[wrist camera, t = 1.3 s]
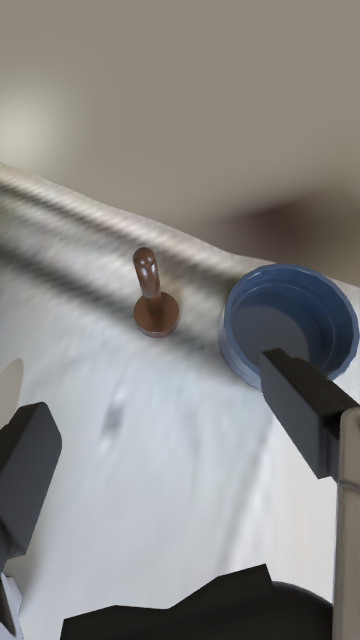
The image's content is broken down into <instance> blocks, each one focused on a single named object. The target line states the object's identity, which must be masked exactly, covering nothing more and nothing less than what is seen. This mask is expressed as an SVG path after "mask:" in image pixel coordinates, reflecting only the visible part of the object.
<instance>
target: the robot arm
mask: <svg viewBox="0 0 360 640" xmlns="http://www.w3.org/2000/svg"><path fill="white" fill-rule="evenodd" d="M259 369H260V380H261V389H262V393H263V396H264V398H265V401H266V402H267V404H268V405H269V407H270V408H271V410H272V411H273V413H274V414H275V416H276V417H277V419H278V420H279V422H280V423H281V425H282V426H283V428H284V429H285V431H286V432H287V434H288V435H289V437H290V438H291V440H292V441H293V443H294V444H295V446H296V447H297V449H298V450H299V452H300V453H301V455H302V456H303V458H304V459H305V460H306V462H307V463H308V465H309V466H310V468H311V469H312V471H313V472H314V474H315V475H316V477H317V478H318V479H321V478H325V477H329V476H332V478H333V479H334V481H335V482H336V483H337V502H336V526H335V549H334V571H333V593H332V604H331V603H330V602H328V601H327V600H325V599H324V598H322V597H320V596H318V595H317V594H315V593H313V592H311V591H309V590H307V589H304V588H301V587H299V586H296V585H293V584H289V583H284V582H278V581H272V580H271V577H270V575H269V572H268V569H267V566H266V563H265V564H262V565H258V566H255V567H251V568H247V569H244V570H240V571H237V572H233V573H229V574H226V575H222V576H218V577H216V578H215V579H213V580H212V581H210V582H209V583H207V584H206V585H204V586H203V587H201V588H200V589H198V590H197V591H195V592H194V593H192V594H191V595H189V596H188V597H186V598H185V599H183V600H182V601H180V602H179V603H177V604H176V605H174V606H173V607H171V608H168V609H154V608H143V607H131V606H119V605H114V606H110V607H106V608H103V609H99V610H96V611H92V612H88V613H85V614H81V615H78V616H74V617H70V618H67V619H64V621H63V626H62V632H61V637H60V640H360V405H359V404H358V403H357V402H356V401H355V400H353V399H352V398H351V397H350V396H349V395H348V394H347V393H345V392H344V391H343V390H342V389H341V388H340V387H338V386H337V385H336V384H335V383H334V382H333V381H331V380H329V378H328V377H327V376H326V375H324V374H323V373H321V371H320V370H319V369H317V368H316V367H315V366H314V365H313V364H312V363H310V362H308V361H306V360H303V359H301V358H299V357H295V358H291V357H290V356H289V355H288V354H287V353H286V352H285V351H284V350H283V349H281V348H279V347H278V348H274V349H270V350H266V351H261V352H259ZM61 449H62V439H61V434H60V432H59V430H58V428H57V425H56V423H55V421H54V419H53V417H52V415H51V412H50V410H49V408H48V406H47V404H46V403H44V402H39V403H34V404H30V405H26V406H21V407H20V408H18V410H17V411H16V413H15V414H14V416H13V417H12V419H11V420H10V422H9V424H7V425H5V426H4V427H3V428H2V429H1V430H0V640H24V637H23V634H22V631H21V627H20V624H19V620H18V617H17V613H16V610H15V607H14V603H13V600H12V596H11V593H10V589H9V586H8V583H7V579H6V577H5V575H4V574H3V572H2V571H3V568H4V565H5V563H6V560H7V559H10V558H14V557H18V556H22V555H25V554H26V551H27V549H28V546H29V543H30V540H31V537H32V534H33V531H34V528H35V525H36V523H37V520H38V517H39V514H40V511H41V508H42V505H43V502H44V499H45V497H46V494H47V491H48V488H49V485H50V482H51V479H52V476H53V473H54V471H55V468H56V465H57V462H58V459H59V456H60V453H61Z"/></svg>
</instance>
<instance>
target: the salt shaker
mask: <svg viewBox="0 0 360 640" xmlns="http://www.w3.org/2000/svg"><path fill="white" fill-rule="evenodd" d="M6 579H7V583H8V586H9V589H10V593H11V596H12V600H13V603H14V607H15V610H16V613H17V617H18V616H19V609H20V605H21V602H22V599H23V596H22V594H21V592H20V590H19V588H18V586H17V584H16V582H15V580H14V579H13V577H7V578H6Z"/></svg>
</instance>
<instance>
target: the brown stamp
mask: <svg viewBox="0 0 360 640" xmlns="http://www.w3.org/2000/svg"><path fill="white" fill-rule="evenodd" d="M133 263H134V266H135V269H136V273H137V276H138V279H139V283H140V286H141V289H142V293H143V296H142V297H141V298H140V299H139V300H138V301H137V303H136V305H135V308H134V318H135V321H136V323H137V325H138V327H139V329H140V330H141V331H142V332H143V333H144V334H145V335H147V336H149V337H153V338H161V337H164V336H167V335H169V334H170V333H172V332H173V331H174V330H175V328H176V327H177V325H178V321H179V308H178V305H177V303H176V301H175V300H174V298H173V297H172V296H170V295H169V294H167V293H164V292H161V288H160V282H159V276H158V269H157V263H156V257H155V254H154V252H153V251H152V250H151V249H149V248H146V247H142V248H139V249H137V250H136V251H135V253H134V255H133Z"/></svg>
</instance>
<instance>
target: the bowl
mask: <svg viewBox="0 0 360 640" xmlns="http://www.w3.org/2000/svg"><path fill="white" fill-rule="evenodd" d="M359 339H360V333H359V326H358V319H357V315H356V313H355V311H354V309H353V307H352V305H351V303H350V301H349V299H348V298H347V297H346V295H345V294H344V293H343V292H342V291H341V290H340V289H339V288H338V286H337V285H336V284H335V283H333V282H332V281H331V280H329V279H328V278H326V277H325V276H323V275H322V274H320V273H319V272H317V271H314V270H311V269H308V268H306V267H302V266H300V265H293V264H282V263H277V264H271V265H266V266H261V267H259V268H257V269H255V270H253V271H251V272H249V273H247V274H245V275H244V276H243V277H242V278H241V279H240V280H239V281H238V282H237V283H236V284H235V285H234V286H233V287H232V289H231V291H230V294H229V296H228V298H227V301H226V303H225V306H224V309H223V311H222V314H221V317H220V320H219V328H218V341H219V344H220V348H221V352H222V355H223V357H224V359H225V360H226V362H227V363H228V365H229V366H230V368H231V369H232V371H233V372H234V373H235V374H236V375H238V376H239V377H240V378H241V379H242V380H243V381H245V382H246V383H247V384H248V385H250V386H253V387H255V388H257V389H260V390H262V389H261V380H260V369H259V352H261V351H266V350H270V349H274V348H278V347H279V348H281V349H283V350H284V351H285V352H286V353H287V354H288V355H289V356H290V357H291V358H295V357H299V358H301V359H303V360H306V361H308V362H310V363H312V364H313V365H314V366H315V367H316V368H317V369H319V370H320V371H321V373H323V374H324V375H326V376H327V377H328V378H329V380H331V381H332V380H334V379H336V378H337V377H339V376H340V375H342V374H343V373H344V372H345V371H346V370H347V368H348V367H349V365H350V364H351V362H352V361H353V359H354V358H355V356H356V353H357V348H358V344H359Z"/></svg>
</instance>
